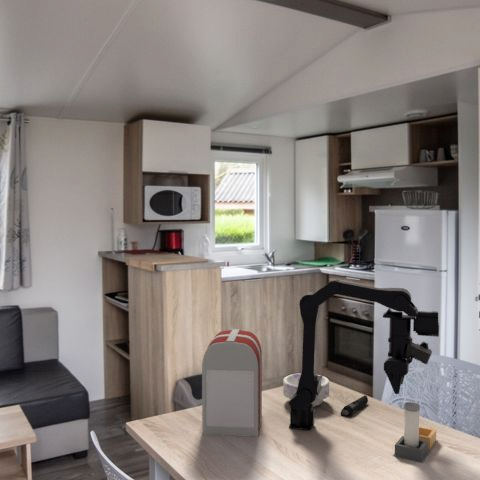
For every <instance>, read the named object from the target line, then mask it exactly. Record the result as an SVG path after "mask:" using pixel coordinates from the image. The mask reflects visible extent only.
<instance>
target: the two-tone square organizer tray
mask: <svg viewBox="0 0 480 480" xmlns="http://www.w3.org/2000/svg"><path fill="white" fill-rule="evenodd" d="M438 442H439V440H437V429H434V428H428V427H424V426H420V425H419V449H418V448H413V447H409V446H405V445H404V435H402V436H401V437H400V438H398V440H397V442H395V444H394V453H393V454H392V457H394V458H398V459H399V458H400V459H403V460H408V461H410V462H411V461H412V462H415V463H420V464H424V462H425V461H426V459H427V457H429V455H430V454H431V452H432V450H433V449H434V448H435V446H436V445H437V443H438Z"/></svg>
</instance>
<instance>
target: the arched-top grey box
mask: <svg viewBox="0 0 480 480" xmlns="http://www.w3.org/2000/svg"><path fill="white" fill-rule="evenodd" d="M262 354H263V352H262V346H261V343H260V340H259V338H258V337H257V336H256V335H255V334H254V333H253V332H252V331H247V330H241V329H239V328H233V329H230V330H229V329H228V330H222V331H220V332H218V333H217V334H216V335H215V336H214V337H213V339H212V340H211V341H210V342H209V344H208V346H207V348H206V350H205V351H204V354H203V357H202V363H201V386H202V387H201V399H202V401H201V403H202V404H201V405H202V406H201V409H202V410H201V411H202V413H201V414H202V415H201V416H202V420H201V421H202V424H201V425H202V427H201V431H202V432H201V433H202V434H203V435H212V436H213V435H217V436H218V435H219V436H238V437H239V436H242V437H243V436H244V437H248V436H249V437H258V436H259V433H260V428H261V425H262V416H263V415H262V413H263V408H262V404H263V403H262V402H263V401H262V399H263V398H262V397H263V396H262V393H263V392H262V389H263V387H262V384H263V383H262V382H263V381H262V379H263V378H262V376H263V375H262V374H263V373H262V372H263V371H262V370H263V369H262V368H263V367H262V365H263V364H262V360H263V359H262V357H263V355H262Z"/></svg>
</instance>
